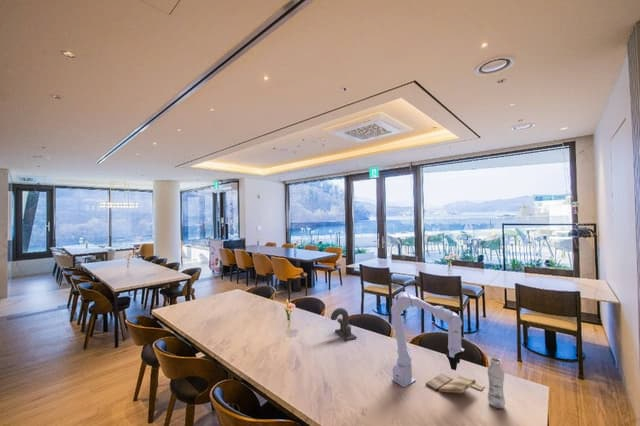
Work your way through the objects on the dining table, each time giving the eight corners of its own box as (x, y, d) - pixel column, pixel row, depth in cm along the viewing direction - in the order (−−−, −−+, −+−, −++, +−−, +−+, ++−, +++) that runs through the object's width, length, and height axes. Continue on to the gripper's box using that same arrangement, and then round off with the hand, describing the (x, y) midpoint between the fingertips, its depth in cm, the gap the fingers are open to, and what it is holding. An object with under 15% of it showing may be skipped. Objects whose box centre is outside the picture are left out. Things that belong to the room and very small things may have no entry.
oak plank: (461, 392, 121) (460, 389, 122) (439, 391, 130) (438, 388, 131) (475, 382, 129) (474, 379, 129) (453, 382, 138) (452, 379, 138)
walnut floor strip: (436, 391, 131) (436, 388, 131) (425, 385, 136) (425, 382, 136) (452, 381, 139) (452, 378, 139) (441, 375, 144) (441, 373, 144)
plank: (481, 392, 131) (481, 389, 131) (455, 381, 139) (455, 379, 139) (484, 387, 134) (484, 385, 134) (458, 377, 143) (458, 375, 143)
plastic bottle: (498, 400, 124) (497, 356, 124) (509, 410, 117) (507, 363, 117) (484, 400, 124) (483, 356, 124) (494, 411, 117) (493, 364, 117)
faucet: (325, 333, 198) (325, 305, 199) (344, 329, 205) (344, 302, 205) (337, 343, 182) (337, 313, 182) (357, 339, 188) (357, 310, 189)
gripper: (460, 346, 127) (461, 375, 126) (466, 335, 138) (467, 362, 138) (444, 342, 131) (445, 370, 131) (451, 331, 142) (451, 358, 142)
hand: (455, 366), depth 134 cm, fingers open, 7 cm apart
